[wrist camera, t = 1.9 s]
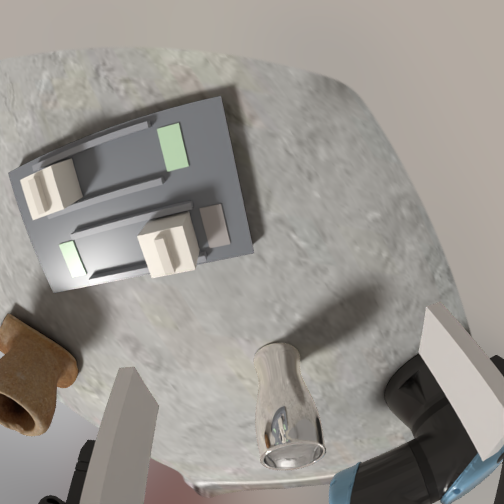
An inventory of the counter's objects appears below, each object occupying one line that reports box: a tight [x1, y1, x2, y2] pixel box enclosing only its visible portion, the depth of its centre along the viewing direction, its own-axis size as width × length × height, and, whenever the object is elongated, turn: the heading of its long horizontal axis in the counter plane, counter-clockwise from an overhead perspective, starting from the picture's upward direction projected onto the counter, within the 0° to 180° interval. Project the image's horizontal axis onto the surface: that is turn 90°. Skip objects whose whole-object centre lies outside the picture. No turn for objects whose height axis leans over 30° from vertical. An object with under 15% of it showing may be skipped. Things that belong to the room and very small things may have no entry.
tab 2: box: [137, 211, 200, 278], centre depth 27 cm, size 4×4×5 cm
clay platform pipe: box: [0, 314, 78, 436], centre depth 30 cm, size 15×12×15 cm
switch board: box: [8, 96, 254, 293], centre depth 28 cm, size 24×15×3 cm, turn 101°
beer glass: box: [253, 343, 326, 470], centre depth 32 cm, size 7×7×15 cm
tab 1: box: [20, 158, 83, 220], centre depth 23 cm, size 4×4×5 cm
